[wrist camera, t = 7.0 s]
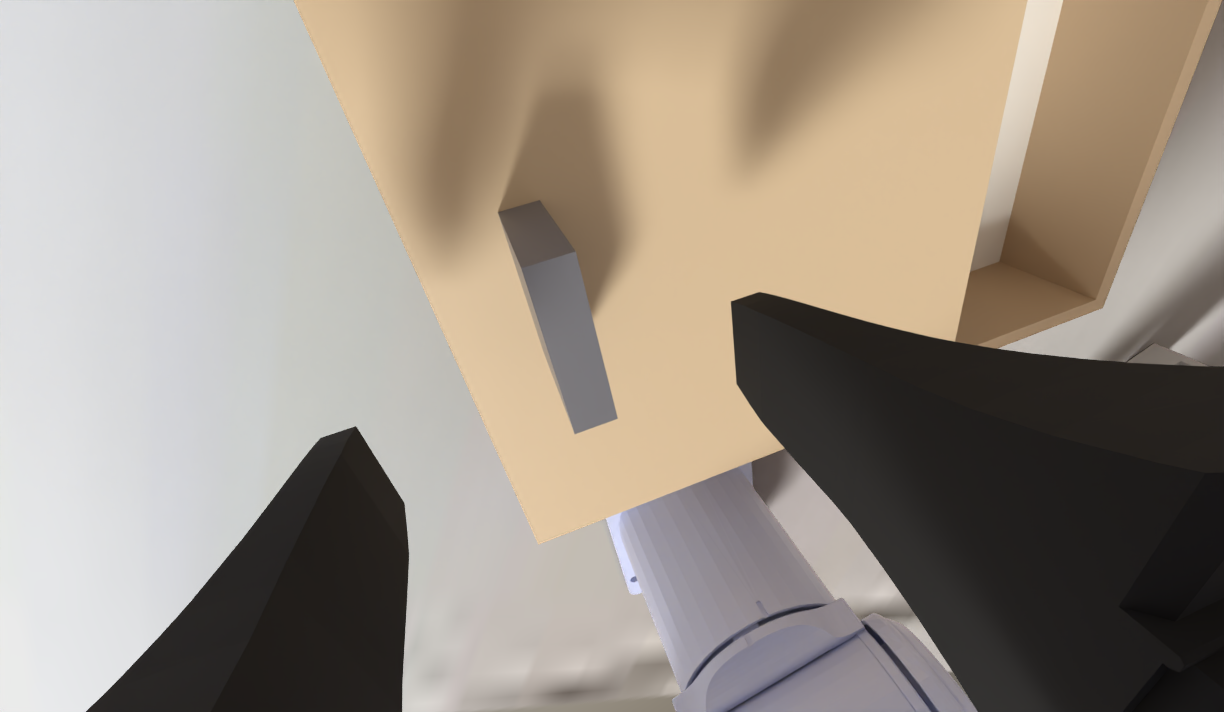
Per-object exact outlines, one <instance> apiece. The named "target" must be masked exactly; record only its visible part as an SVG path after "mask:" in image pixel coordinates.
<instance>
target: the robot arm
mask: <svg viewBox="0 0 1224 712" xmlns="http://www.w3.org/2000/svg"><path fill="white" fill-rule="evenodd" d="M731 312H732V326H733V341H734V355H735V369H736V384H737V386H738V387H739V389H740V390H741V392H742V393H743V395H744V396H745V398H746V399H747V401H748V403H749V404H750V406H751V407H752V409H753V410H754V411H755V413H756V414H757V416H758V417H759V419H760V420H761V422H762V423H763V424H764V425H765V426H766V428H767V429H768V430H769V431H770V432H771V433H772V434H773V436H774V437H775V438H776V439H777V440H778V441H779V442H780V444H781V445H782V446H783V447H784V448H785V449H786V450H787V451H788V453H789V454H790V455H791V456H792V457H793V458H794V459H795V460H796V461H797V463H798V464H799V465H800V466H801V467H802V468H803V469H804V470H805V471H806V473H807V474H808V475H809V476H810V477H811V478H812V479H813V480H814V481H815V483H816V484H817V485H818V486H819V487H820V488H821V489H822V490H823V492H824V493H825V494H826V495H827V496H828V497H829V498H830V499H831V500H832V502H833V503H834V504H835V505H836V506H837V507H838V509H839V510H840V511H841V512H842V513H843V515H844V516H845V517H846V518H847V519H848V521H849V522H850V523H851V524H852V526H853V527H854V528H855V530H856V531H857V533H858V534H859V535H860V537H861V538H862V539H863V541H864V542H865V543H866V545H867V546H868V548H869V549H870V550H871V552H872V553H873V554H874V556H875V557H876V559H877V560H878V561H879V563H880V564H881V565H882V567H883V568H884V570H885V571H886V573H887V574H888V575H889V577H890V578H891V580H892V581H893V583H894V584H895V586H896V587H897V588H898V590H899V591H900V593H901V594H902V596H903V597H904V599H905V600H906V601H907V603H908V604H909V606H910V607H911V609H912V610H913V612H914V613H915V615H916V616H917V617H918V619H919V620H920V622H921V624H922V625H923V627H924V628H925V630H926V631H927V633H928V634H929V636H930V637H931V639H932V640H933V642H934V643H935V645H936V647H937V648H938V650H939V651H940V653H941V654H942V656H943V657H944V659H945V660H946V662H947V663H948V665H949V666H950V668H951V670H952V671H953V673H954V674H955V676H956V677H957V679H958V680H959V682H960V684H961V685H962V687H963V688H964V690H965V692H966V693H967V695H968V697H969V698H970V700H971V701H970V700H969V699H968V697H967V696H966V695H965V693H964V692H963V691H962V689H961V688H960V687H959V686H958V684H957V683H956V682H955V681H954V679H953V678H952V677H951V676H950V674H949V673H948V672H947V671H946V670H945V668H944V667H943V666H942V665H941V664H940V662H939V661H938V660H937V659H936V658H935V657H934V655H933V654H932V653H931V652H930V651H929V650H928V649H927V648H926V646H925V645H924V644H923V643H922V642H921V641H920V640H919V639H918V638H917V637H916V636H915V635H914V634H913V633H912V632H911V631H910V630H909V629H907V628H906V627H905V626H904V625H902V624H901V623H899V622H897V621H894V620H890V619H887V618H884V617H882V616H881V615H879V614H876V613H873V614H870V615H869V616H867V617H866V618H864V619H862V620H861V622H860V620H859V619H858V618H857V616H856V615H855V614H854V612H853V611H852V609H851V608H850V607H849V605H848V604H847V603H846V601H845V600H844V599H843V598H840V599H838V600H835V599H834V597H833V596H832V595H831V593H830V592H829V591H828V589H827V588H826V586H825V585H824V584H823V582H822V581H821V580H820V578H819V577H818V575H817V574H816V573H815V571H814V570H813V569H812V567H811V566H810V564H809V563H808V562H807V560H806V559H805V558H804V556H803V555H802V553H801V552H800V551H799V549H798V548H797V547H796V545H795V544H794V542H793V541H792V540H791V538H790V537H789V536H788V534H787V533H786V532H785V530H784V529H783V527H782V526H781V525H780V523H779V522H778V521H777V519H776V518H775V516H774V515H773V514H772V512H771V511H770V510H769V508H768V507H767V505H766V504H765V503H764V501H763V500H762V499H761V497H760V496H759V494H758V493H757V492H756V490H755V489H754V488H753V476H752V462H749V463H747V464H744V465H742V466H739V467H736V468H734V469H731V470H729V471H726V472H724V473H721V474H718V475H716V476H713V477H711V478H708V479H706V480H703V481H700V482H698V483H695V484H693V485H690V486H688V487H685V488H683V489H680V490H677V491H675V492H672V493H670V494H667V495H665V496H662V497H659V498H657V499H654V500H652V501H649V502H647V503H644V504H641V505H639V506H636V507H634V508H631V509H629V510H626V511H623V512H621V513H618V514H616V515H613V516H611V517H608V518H606V521H607V524H608V527H609V530H610V534H611V537H612V540H613V543H614V546H615V549H616V553H617V556H618V559H619V562H620V565H621V568H622V572H623V575H624V578H625V581H626V584H627V587H628V590H629V592H630V594H639V593H643V596H644V598H645V601H646V603H647V606H648V609H649V611H650V614H651V616H652V619H653V621H654V624H655V626H656V629H657V631H658V634H659V636H660V639H661V642H662V644H663V647H664V649H665V652H666V654H667V657H668V659H669V662H670V664H671V667H672V670H673V672H674V675H675V677H676V680H677V682H678V685H679V687H680V690H681V692H682V693H681V694H679V695H678V696H676V697H675V698H674V699H673V700H672V703H673V705H674V708H675V711H676V712H1224V367H1213V366H1186V365H1165V364H1145V363H1127V362H1114V361H1100V360H1088V359H1078V358H1069V357H1059V356H1050V355H1040V354H1031V353H1024V352H1016V351H1009V350H1002V349H996V348H990V347H984V346H978V345H972V344H966V343H960V342H954V341H949V340H944V339H939V338H934V337H929V336H925V335H920V334H916V333H912V332H908V331H903V330H899V329H895V328H891V327H887V326H883V325H879V324H875V323H871V322H868V321H864V320H860V319H857V318H853V317H849V316H846V315H842V314H839V313H835V312H832V311H829V310H825V309H822V308H818V307H815V306H811V305H808V304H805V303H801V302H798V301H794V300H791V299H787V298H783V297H780V296H776V295H772V294H767V293H762V292H758V293H755V294H752V295H749V296H746V297H743V298H740V299H737V300H734V301H731ZM408 564H409V549H408V536H407V525H406V515H405V505H404V502H403V500H402V499H401V497H400V496H399V494H398V492H397V491H396V489H395V488H394V486H393V484H392V483H391V481H390V480H389V478H388V477H387V475H386V473H385V472H384V470H383V469H382V467H381V465H380V464H379V462H378V461H377V459H376V457H375V456H374V454H373V453H372V451H371V449H370V448H369V446H368V445H367V443H366V441H365V440H364V438H363V437H362V435H361V433H360V432H359V430H358V429H357V427H353V428H350V429H347V430H344V431H341V432H338V433H335V434H332V435H329V436H326V437H323V438H320V439H319V441H318V442H317V443H316V444H315V445H314V446H313V447H312V449H311V450H310V451H309V452H308V454H307V455H306V456H305V457H304V459H303V460H302V461H301V463H300V464H299V465H298V467H297V468H296V469H295V471H294V472H293V473H292V475H291V476H290V477H289V479H288V480H287V481H286V483H285V484H284V485H283V487H282V488H281V489H280V491H279V492H278V493H277V495H276V496H275V497H274V498H273V500H272V501H271V502H270V504H269V505H268V506H267V508H266V509H265V510H264V512H263V513H262V514H261V515H260V517H259V518H258V519H257V521H256V522H255V523H254V525H253V526H252V527H251V529H250V530H249V531H248V533H247V534H246V535H245V536H244V538H243V539H242V540H241V541H240V543H239V544H238V545H237V546H236V547H235V549H234V550H233V551H232V552H231V554H230V555H229V556H228V557H227V558H226V560H225V561H224V562H223V563H222V564H221V566H220V567H219V568H218V569H217V571H216V572H215V573H214V574H213V575H212V577H211V578H210V579H209V580H208V581H207V583H206V584H205V585H204V586H203V588H202V589H201V590H200V591H199V592H198V594H197V595H196V596H195V597H194V599H193V600H192V601H191V602H190V603H189V604H188V605H187V607H186V608H185V609H184V610H183V611H182V612H181V613H180V615H179V616H178V617H177V618H176V619H175V620H174V621H173V622H172V623H171V624H170V626H169V627H168V628H167V629H166V630H165V631H164V632H163V633H162V634H161V636H160V637H159V638H158V639H157V640H156V641H155V642H154V643H153V644H152V645H151V646H150V647H149V648H148V649H147V650H146V651H145V652H144V654H143V655H142V656H141V657H140V658H139V659H138V660H137V661H136V662H135V663H134V664H133V665H132V666H131V667H130V668H129V669H128V670H127V671H126V673H125V674H124V675H123V676H122V677H121V678H120V679H119V680H118V681H117V682H116V683H115V684H114V685H113V686H112V687H111V688H110V689H109V690H108V691H107V692H106V693H105V694H104V695H103V696H102V697H101V698H100V699H99V700H98V701H97V702H96V703H95V704H93V705H92V706H91V707H90V708H89V709H88V710H87V711H86V712H402V677H403V659H404V641H405V624H406V606H407V586H408ZM971 702H972V703H973V704H972V703H971Z"/></svg>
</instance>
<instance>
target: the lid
mask: <svg viewBox="0 0 1224 712" xmlns="http://www.w3.org/2000/svg"><path fill="white" fill-rule="evenodd" d="M1027 1H1028V0H294V2H295V4H296V7H297V9H298V11H299V13H300V15H301V18H302V20H303V22H304V24H305V27H306V29H307V31H308V33H309V35H310V38H311V40H312V42H313V44H314V47H315V49H316V51H317V53H318V55H319V58H320V60H321V62H322V64H323V67H324V69H325V71H326V73H327V75H328V78H329V80H330V82H331V84H332V87H333V89H334V91H335V93H336V95H337V98H338V100H339V102H340V104H341V107H342V109H343V111H344V113H345V115H346V118H347V120H348V122H349V124H350V127H351V129H352V131H353V133H354V135H355V138H356V140H357V142H358V144H359V147H360V149H361V151H362V153H363V155H364V158H365V160H366V162H367V164H368V167H369V169H370V171H371V173H372V175H373V178H374V180H375V182H376V184H377V187H378V189H379V191H380V193H381V195H382V198H383V200H384V202H385V204H386V207H387V209H388V211H389V213H390V215H391V218H392V220H393V222H394V224H395V227H396V229H397V231H398V233H399V235H400V238H401V240H402V242H403V244H404V247H405V249H406V251H407V253H408V255H409V258H410V260H411V262H412V264H413V267H414V269H415V271H416V273H417V275H418V278H419V280H420V282H421V284H422V287H423V289H424V291H425V293H426V295H427V298H428V300H429V302H430V304H431V307H432V309H433V311H434V313H435V315H436V318H437V320H438V322H439V324H440V327H441V329H442V331H443V333H444V335H445V338H446V340H447V342H448V344H449V347H450V349H451V351H452V353H453V356H454V358H455V360H456V362H457V364H458V367H459V369H460V371H461V373H462V376H463V378H464V380H465V382H466V384H467V387H468V389H469V391H470V393H471V396H472V398H473V400H474V402H475V404H476V407H477V409H478V411H479V413H480V416H481V418H482V420H483V422H484V424H485V427H486V429H487V431H488V433H489V436H490V438H491V440H492V442H493V444H494V447H495V449H496V451H497V453H498V456H499V458H500V460H501V462H502V464H503V467H504V469H505V471H506V473H507V476H508V478H509V480H510V482H511V484H512V487H513V489H514V491H515V493H516V496H517V498H518V500H519V502H520V504H521V507H522V509H523V511H524V513H525V516H526V518H527V520H528V522H529V524H530V527H531V529H532V531H533V533H534V536H535V538H536V540H537V542H538V544H541V543H544V542H546V541H549V540H552V539H554V538H557V537H559V536H562V535H564V534H567V533H570V532H572V531H575V530H577V529H580V528H582V527H585V526H588V525H590V524H593V523H595V522H598V521H600V520H603V519H605V518H608V517H611V516H613V515H616V514H618V513H621V512H623V511H626V510H629V509H631V508H634V507H636V506H639V505H641V504H644V503H647V502H649V501H652V500H654V499H657V498H659V497H662V496H665V495H667V494H670V493H672V492H675V491H677V490H680V489H683V488H685V487H688V486H690V485H693V484H695V483H698V482H700V481H703V480H706V479H708V478H711V477H713V476H716V475H718V474H721V473H724V472H726V471H729V470H731V469H734V468H736V467H739V466H742V465H744V464H747V463H749V462H752V461H754V460H757V459H760V458H762V457H765V456H767V455H770V454H772V453H775V452H777V451H780V450H783V449H785V448H784V447H783V446H782V445H781V444H780V442H779V441H778V440H777V439H776V438H775V437H774V436H773V434H772V433H771V432H770V431H769V430H768V429H767V428H766V426H765V425H764V424H763V423H762V422H761V420H760V419H759V417H758V416H757V414H756V413H755V411H754V410H753V409H752V407H751V406H750V404H749V403H748V401H747V399H746V398H745V396H744V395H743V393H742V392H741V390H740V389H739V387H738V386H737V384H736V369H735V355H734V341H733V326H732V312H731V301H734V300H737V299H740V298H743V297H746V296H749V295H752V294H755V293H758V292H762V293H767V294H772V295H776V296H780V297H783V298H787V299H791V300H794V301H798V302H801V303H805V304H808V305H811V306H815V307H818V308H822V309H825V310H829V311H832V312H835V313H839V314H842V315H846V316H849V317H853V318H857V319H860V320H864V321H868V322H871V323H875V324H879V325H883V326H887V327H891V328H895V329H899V330H903V331H908V332H912V333H916V334H920V335H925V336H929V337H934V338H939V339H944V340H949V341H954V342H955V339H956V334H957V330H958V325H959V320H960V316H961V311H962V306H963V302H964V297H965V292H966V287H967V283H968V278H969V273H970V269H971V264H972V259H973V255H974V250H975V245H976V240H977V236H978V231H979V226H980V222H981V217H982V212H983V208H984V203H985V198H986V193H987V189H988V184H989V179H990V175H991V170H992V165H993V161H994V156H995V151H996V146H997V142H998V137H999V132H1000V128H1001V123H1002V118H1003V113H1004V109H1005V104H1006V99H1007V95H1008V90H1009V85H1010V81H1011V76H1012V71H1013V66H1014V62H1015V57H1016V52H1017V48H1018V43H1019V38H1020V34H1021V29H1022V24H1023V19H1024V15H1025V10H1026V5H1027Z"/></svg>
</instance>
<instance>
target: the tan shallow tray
mask: <svg viewBox="0 0 1224 712" xmlns="http://www.w3.org/2000/svg"><path fill="white" fill-rule="evenodd" d="M1221 2H1222V0H1028V1H1027V5H1026V10H1025V15H1024V19H1023V24H1022V29H1021V34H1020V38H1019V43H1018V48H1017V52H1016V57H1015V62H1014V66H1013V71H1012V76H1011V81H1010V85H1009V90H1008V95H1007V99H1006V104H1005V109H1004V113H1003V118H1002V123H1001V128H1000V132H999V137H998V142H997V146H996V151H995V156H994V161H993V165H992V170H991V175H990V179H989V184H988V189H987V193H986V198H985V203H984V208H983V212H982V217H981V222H980V226H979V231H978V236H977V240H976V245H975V250H974V255H973V259H972V264H971V269H970V273H969V278H968V283H967V287H966V292H965V297H964V302H963V306H962V311H961V316H960V320H959V325H958V330H957V334H956V339H955V342H960V343H966V344H972V345H978V346H984V347H990V348H996V349H997V348H1000V347H1002V346H1005V345H1007V344H1010V343H1013V342H1015V341H1018V340H1020V339H1023V338H1026V337H1028V336H1031V335H1033V334H1036V333H1039V332H1041V331H1044V330H1046V329H1049V328H1052V327H1054V326H1057V325H1059V324H1062V323H1065V322H1067V321H1070V320H1073V319H1075V318H1078V317H1080V316H1083V315H1086V314H1088V313H1091V312H1093V311H1096V310H1099V309H1101V308H1103V306H1104V303H1105V301H1106V298H1107V296H1108V293H1109V291H1110V288H1111V285H1112V283H1113V280H1114V278H1115V275H1116V273H1117V270H1118V267H1119V265H1120V262H1121V260H1122V257H1123V255H1124V252H1125V249H1126V247H1127V244H1128V242H1129V239H1130V237H1131V234H1132V231H1133V229H1134V226H1135V224H1136V221H1137V219H1138V216H1139V213H1140V211H1141V208H1142V206H1143V203H1144V201H1145V198H1146V195H1147V193H1148V190H1149V188H1150V185H1151V183H1152V180H1153V177H1154V175H1155V172H1156V170H1157V167H1158V165H1159V162H1160V159H1161V157H1162V154H1163V152H1164V149H1165V146H1166V144H1167V141H1168V139H1169V136H1170V134H1171V131H1172V128H1173V126H1174V123H1175V121H1176V118H1177V116H1178V113H1179V110H1180V108H1181V105H1182V103H1183V100H1184V98H1185V95H1186V92H1187V90H1188V87H1189V85H1190V82H1191V80H1192V77H1193V74H1194V72H1195V69H1196V67H1197V64H1198V62H1199V59H1200V56H1201V54H1202V51H1203V49H1204V46H1205V44H1206V41H1207V38H1208V36H1209V33H1210V31H1211V28H1212V26H1213V23H1214V20H1215V18H1216V15H1217V13H1218V10H1219V8H1220V5H1221Z"/></svg>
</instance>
